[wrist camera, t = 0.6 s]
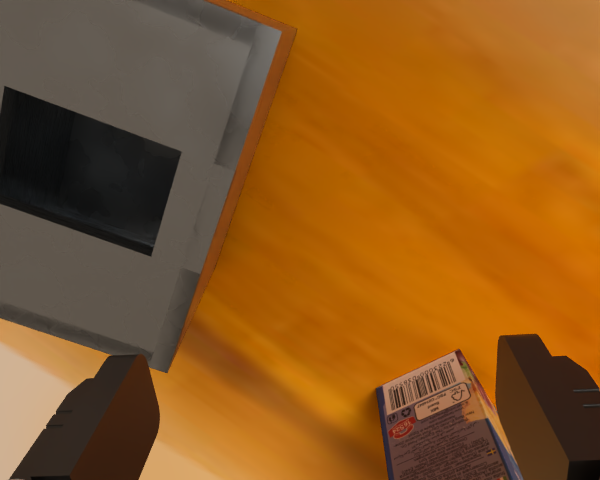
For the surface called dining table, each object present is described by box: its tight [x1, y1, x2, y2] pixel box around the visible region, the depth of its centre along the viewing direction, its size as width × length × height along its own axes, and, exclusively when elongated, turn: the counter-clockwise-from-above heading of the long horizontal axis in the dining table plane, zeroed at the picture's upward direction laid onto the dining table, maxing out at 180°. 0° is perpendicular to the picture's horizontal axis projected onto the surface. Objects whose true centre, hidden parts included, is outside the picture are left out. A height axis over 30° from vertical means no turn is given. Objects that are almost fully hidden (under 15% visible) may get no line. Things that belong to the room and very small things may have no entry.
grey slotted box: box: [0, 0, 297, 373], centre depth 30 cm, size 18×13×13 cm
